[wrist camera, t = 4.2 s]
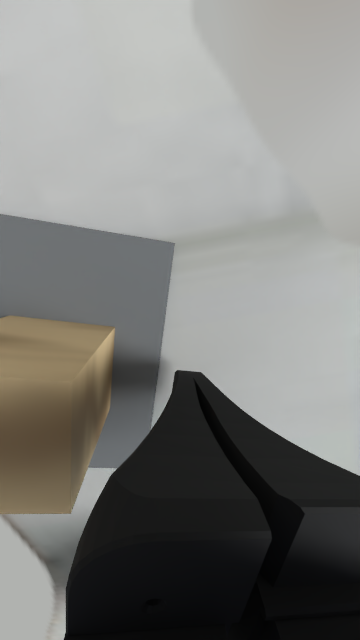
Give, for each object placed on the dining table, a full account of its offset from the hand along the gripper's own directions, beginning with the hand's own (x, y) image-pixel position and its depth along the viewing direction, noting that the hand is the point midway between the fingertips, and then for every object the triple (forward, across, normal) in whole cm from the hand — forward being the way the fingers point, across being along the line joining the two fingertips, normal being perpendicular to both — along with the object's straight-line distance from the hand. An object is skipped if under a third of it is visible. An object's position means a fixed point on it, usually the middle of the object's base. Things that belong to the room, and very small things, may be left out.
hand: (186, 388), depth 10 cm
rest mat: (+2, +8, 0) cm, 8 cm away
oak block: (+1, +6, 0) cm, 7 cm away
